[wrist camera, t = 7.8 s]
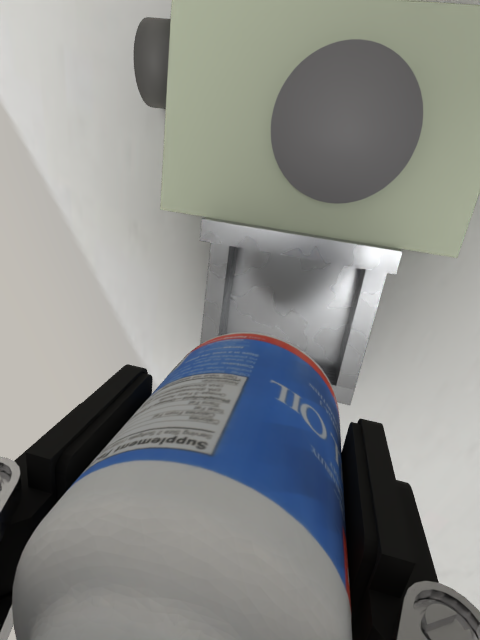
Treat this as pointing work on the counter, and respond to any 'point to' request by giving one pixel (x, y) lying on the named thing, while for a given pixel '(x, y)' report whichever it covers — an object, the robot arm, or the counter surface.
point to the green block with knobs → (320, 116)
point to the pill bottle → (203, 512)
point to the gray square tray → (296, 292)
